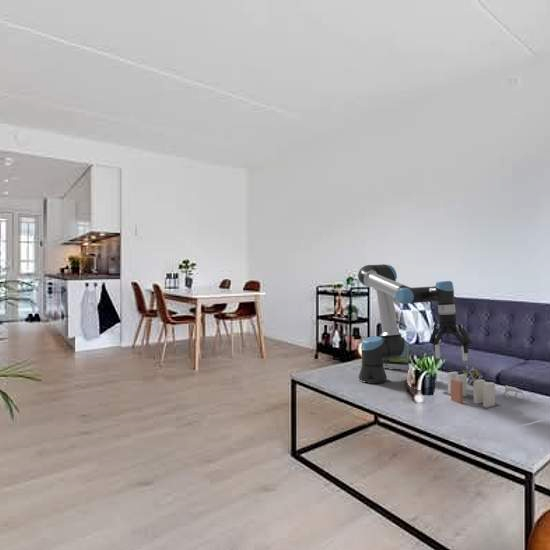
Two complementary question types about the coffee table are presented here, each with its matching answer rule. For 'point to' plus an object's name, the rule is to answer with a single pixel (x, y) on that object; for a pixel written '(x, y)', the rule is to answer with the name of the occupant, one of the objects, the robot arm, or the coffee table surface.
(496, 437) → the coffee table surface
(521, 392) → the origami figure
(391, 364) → the tea box
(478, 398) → the domino
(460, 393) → the domino
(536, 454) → the coffee table surface
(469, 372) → the passion flower
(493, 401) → the domino
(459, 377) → the domino
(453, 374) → the domino
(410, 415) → the coffee table surface
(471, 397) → the mat
